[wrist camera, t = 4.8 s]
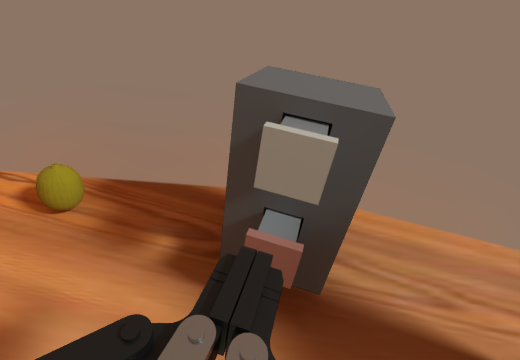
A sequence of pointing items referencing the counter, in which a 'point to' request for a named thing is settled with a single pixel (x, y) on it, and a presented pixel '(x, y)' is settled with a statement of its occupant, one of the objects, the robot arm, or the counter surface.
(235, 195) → the grey dispenser box
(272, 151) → the upper plunger
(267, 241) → the lower plunger
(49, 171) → the lemon
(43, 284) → the counter surface
